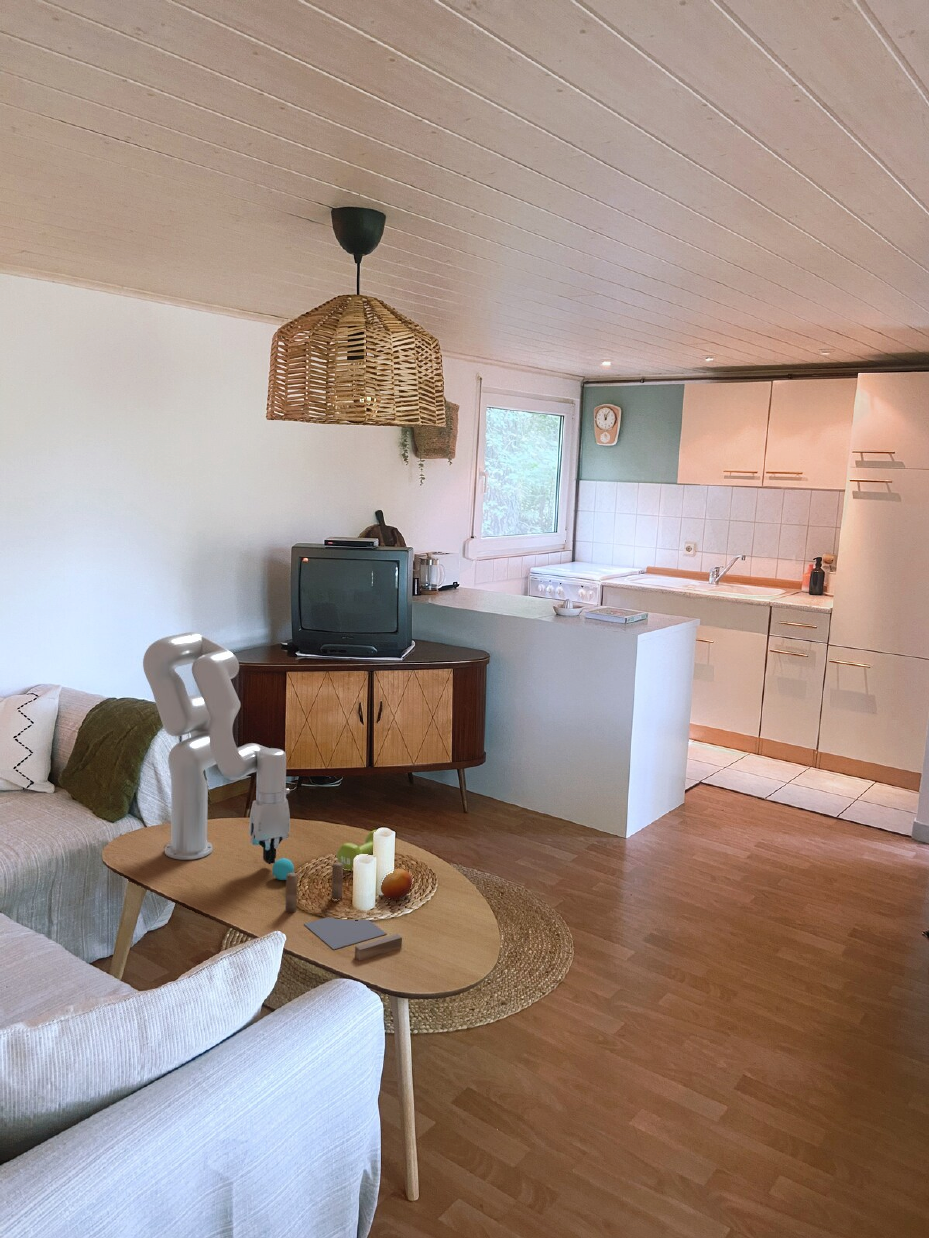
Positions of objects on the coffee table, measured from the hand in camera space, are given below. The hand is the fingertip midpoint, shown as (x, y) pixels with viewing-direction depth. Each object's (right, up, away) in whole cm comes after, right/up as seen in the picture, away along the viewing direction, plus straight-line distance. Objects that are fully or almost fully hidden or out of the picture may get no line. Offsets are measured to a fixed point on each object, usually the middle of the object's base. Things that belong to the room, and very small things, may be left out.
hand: (269, 861), depth 247 cm
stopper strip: (+33, -9, -41) cm, 53 cm away
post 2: (+20, -5, -16) cm, 26 cm away
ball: (+5, 0, -7) cm, 8 cm away
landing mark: (+24, -8, -31) cm, 40 cm away
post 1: (+10, -6, -23) cm, 26 cm away
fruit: (+35, -6, -12) cm, 37 cm away
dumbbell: (+24, -2, +8) cm, 26 cm away
